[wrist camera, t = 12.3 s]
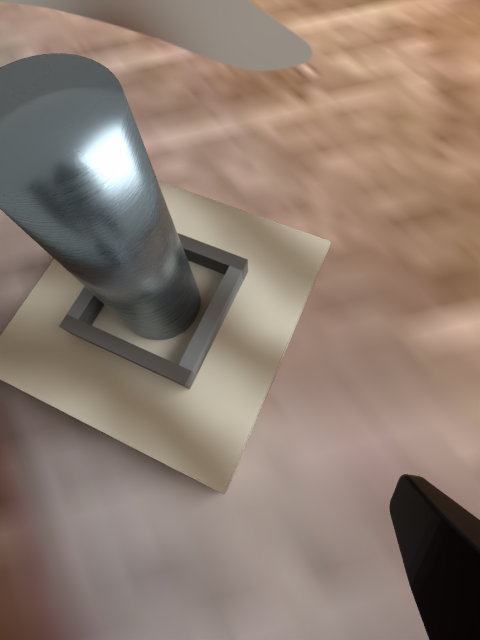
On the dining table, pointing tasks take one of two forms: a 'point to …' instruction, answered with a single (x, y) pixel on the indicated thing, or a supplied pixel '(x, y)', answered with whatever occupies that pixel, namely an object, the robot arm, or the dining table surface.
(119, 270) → the shiny steel cylinder
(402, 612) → the dining table surface
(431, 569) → the robot arm
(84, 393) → the collar base
